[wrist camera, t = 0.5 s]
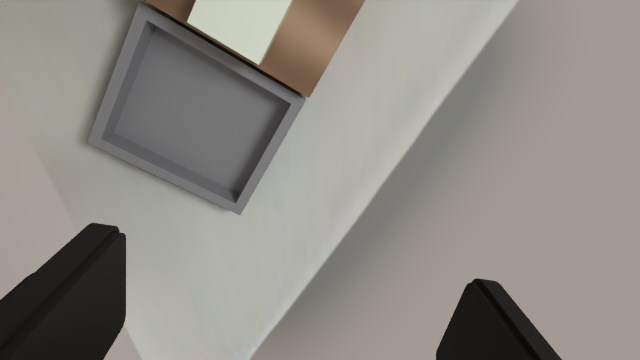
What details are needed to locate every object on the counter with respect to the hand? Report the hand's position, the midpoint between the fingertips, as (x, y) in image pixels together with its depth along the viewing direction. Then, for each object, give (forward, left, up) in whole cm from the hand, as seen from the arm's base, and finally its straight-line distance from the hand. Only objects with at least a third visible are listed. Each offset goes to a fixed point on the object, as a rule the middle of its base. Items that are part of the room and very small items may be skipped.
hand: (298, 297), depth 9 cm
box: (+6, -8, -28) cm, 30 cm away
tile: (-5, -8, -24) cm, 26 cm away
